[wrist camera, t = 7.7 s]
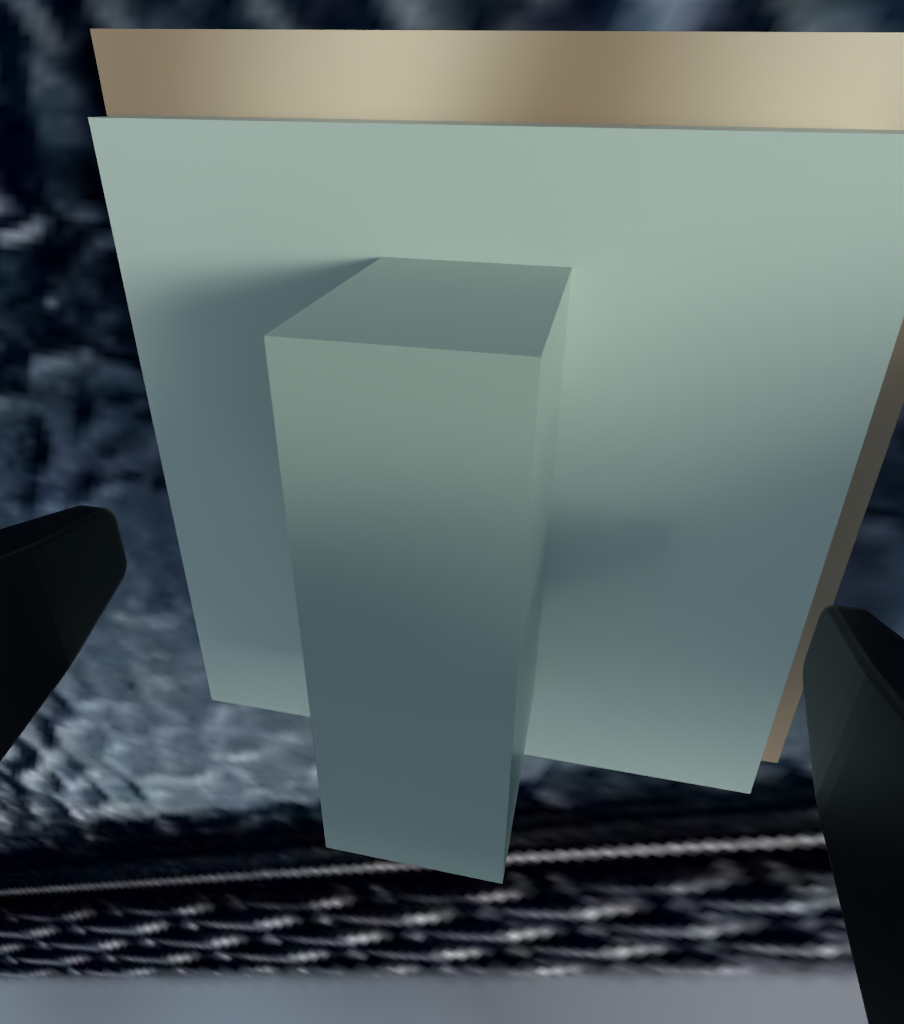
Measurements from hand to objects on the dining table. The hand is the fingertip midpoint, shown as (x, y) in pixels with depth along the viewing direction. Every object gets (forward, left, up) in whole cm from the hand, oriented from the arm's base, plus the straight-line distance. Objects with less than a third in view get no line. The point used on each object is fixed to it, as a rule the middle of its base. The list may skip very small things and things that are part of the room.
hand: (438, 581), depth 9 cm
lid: (0, 0, -4) cm, 4 cm away
